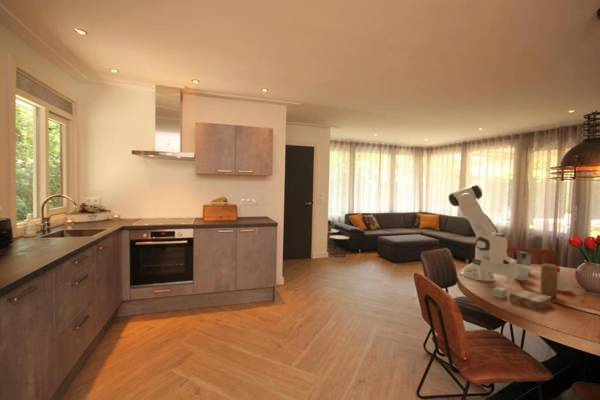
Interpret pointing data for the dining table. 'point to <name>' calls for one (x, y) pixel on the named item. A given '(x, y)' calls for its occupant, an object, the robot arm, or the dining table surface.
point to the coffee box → (522, 258)
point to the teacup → (522, 271)
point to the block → (549, 279)
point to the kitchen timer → (562, 283)
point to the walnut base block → (530, 299)
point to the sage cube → (499, 292)
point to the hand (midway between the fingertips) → (498, 280)
